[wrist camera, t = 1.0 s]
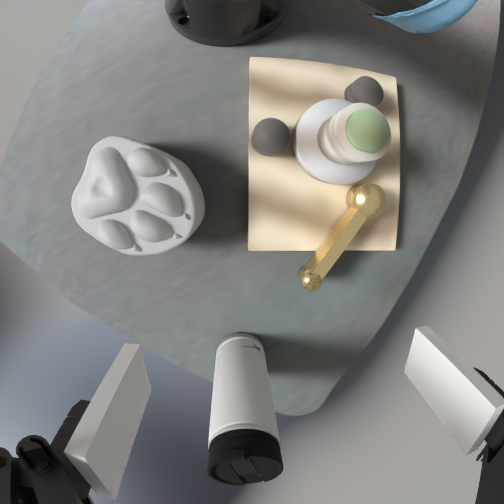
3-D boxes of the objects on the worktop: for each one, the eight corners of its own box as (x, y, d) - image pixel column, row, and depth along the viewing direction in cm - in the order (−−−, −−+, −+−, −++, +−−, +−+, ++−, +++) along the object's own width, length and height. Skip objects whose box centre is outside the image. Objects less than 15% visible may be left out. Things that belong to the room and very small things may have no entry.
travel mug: (256, 324, 36) (274, 449, 17) (269, 363, 38) (291, 486, 18) (209, 336, 36) (191, 461, 17) (225, 374, 38) (221, 497, 18)
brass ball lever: (357, 176, 30) (368, 176, 27) (379, 196, 31) (392, 198, 28) (288, 272, 32) (293, 281, 29) (312, 289, 33) (319, 298, 30)
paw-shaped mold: (127, 134, 30) (95, 121, 22) (223, 180, 32) (218, 179, 24) (93, 212, 32) (55, 222, 24) (182, 260, 34) (166, 285, 26)
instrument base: (249, 63, 29) (255, 12, 17) (388, 81, 30) (440, 52, 18) (247, 246, 34) (253, 279, 22) (387, 246, 35) (442, 273, 23)
